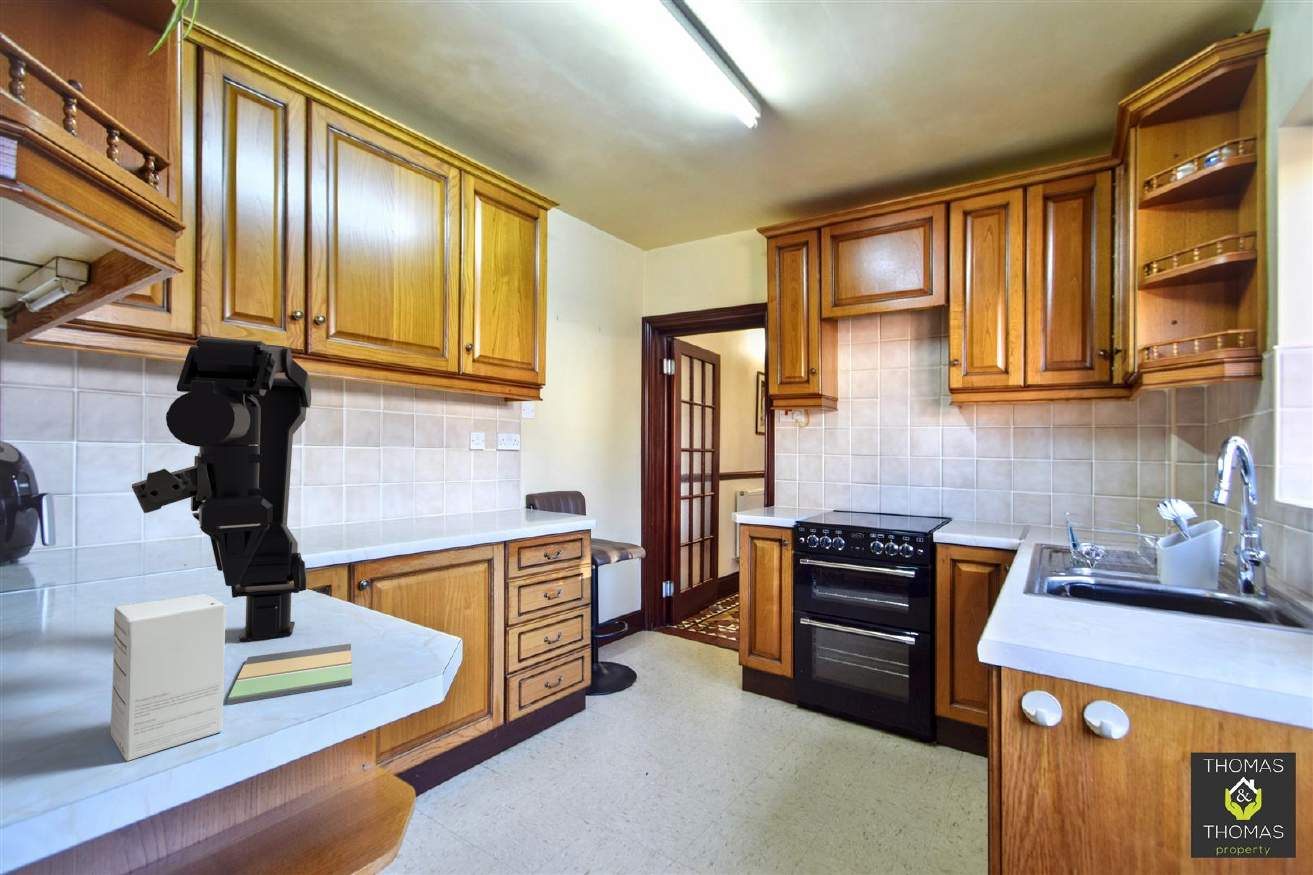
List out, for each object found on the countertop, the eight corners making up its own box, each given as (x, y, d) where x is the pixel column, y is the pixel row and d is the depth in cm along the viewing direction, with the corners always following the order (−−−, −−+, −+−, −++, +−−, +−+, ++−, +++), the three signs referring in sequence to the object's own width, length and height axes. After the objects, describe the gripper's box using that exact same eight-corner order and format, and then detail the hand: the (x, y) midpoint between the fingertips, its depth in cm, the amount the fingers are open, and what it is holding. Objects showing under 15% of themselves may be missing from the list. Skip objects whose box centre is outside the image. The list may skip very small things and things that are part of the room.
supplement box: (203, 711, 61) (207, 591, 61) (223, 733, 56) (228, 603, 57) (108, 737, 55) (113, 605, 56) (122, 764, 51) (127, 619, 51)
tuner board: (247, 660, 76) (248, 656, 76) (350, 647, 81) (350, 642, 81) (227, 704, 63) (227, 698, 63) (351, 684, 68) (352, 679, 68)
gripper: (138, 442, 69) (135, 572, 69) (137, 446, 55) (134, 608, 55) (251, 443, 77) (248, 560, 77) (275, 447, 63) (271, 590, 63)
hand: (227, 577), depth 68 cm, fingers open, 9 cm apart
